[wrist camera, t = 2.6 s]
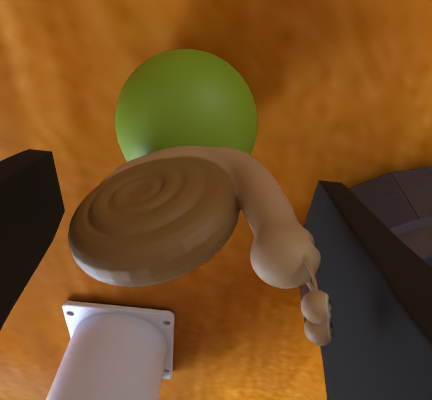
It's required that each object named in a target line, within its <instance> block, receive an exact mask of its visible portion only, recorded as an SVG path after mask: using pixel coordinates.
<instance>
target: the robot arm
mask: <svg viewBox="0 0 432 400" xmlns="http://www.w3.org/2000/svg"><path fill="white" fill-rule="evenodd" d="M64 212H65V209H64V205H63V200H62V196H61V191H60V187H59V182H58V177H57V173H56V168H55V164H54V159H53V155H52V152H50V151H41V150H32V149H28V150H26V151H23V152H20V153H18V154H15V155H13V156H11V157H9V158H6V159H4V160H2V161H0V330H1V328H2V326H3V324H4V322H5V321H6V319H7V317H8V315H9V313H10V311H11V310H12V308H13V306H14V305H15V303H16V301H17V300H18V298H19V296H20V295H21V293H22V291H23V290H24V288H25V286H26V285H27V283H28V281H29V280H30V278H31V276H32V275H33V273H34V272H35V270H36V268H37V267H38V265H39V263H40V262H41V260H42V258H43V256H44V255H45V253H46V251H47V250H48V248H49V246H50V244H51V243H52V241H53V239H54V236H55V234H56V232H57V229H58V227H59V224H60V222H61V219H62V217H63V214H64ZM303 228H305V229H306V230H307V231H308V232H309V233H310V234H311V235H312V236H313V239H314V246H315V247H316V248H317V250H318V251H319V252H320V256H321V261H320V265H319V268H318V270H317V272H316V273H315V278H316V282H317V287H318V290H320V291H323V292H325V293H327V294H328V296H329V298H330V300H331V303H332V314H331V317H330V320H331V322H332V324H333V338H332V341H331V342H330V343H329V344H327V345H325V346H320V347H321V353H322V359H323V367H324V375H325V384H326V393H327V400H432V267H431V266H430V265H429V264H427V263H426V262H425V261H424V260H423V259H422V258H420V257H419V256H418V255H417V254H416V253H415V252H414V251H412V250H411V249H410V248H409V247H408V246H407V245H406V244H404V243H403V242H402V241H401V240H400V239H399V238H398V237H397V236H396V235H395V234H394V233H393V232H392V231H390V230H389V229H388V228H387V227H386V226H385V225H384V224H383V223H382V222H381V221H380V220H379V219H378V218H377V217H376V216H375V215H374V214H373V213H372V212H371V211H370V210H369V209H368V208H367V207H366V206H365V205H364V204H363V203H362V202H361V201H360V200H359V199H358V198H357V197H356V196H355V195H354V194H353V193H352V192H351V191H350V190H349V189H348V188H347V187H346V186H344V185H343V184H342V183H339V182H329V181H320V180H319V181H318V184H317V188H316V191H315V194H314V197H313V200H312V203H311V206H310V209H309V212H308V215H307V218H306V221H305V224H304V227H303ZM311 283H312V285H313V282H312V278H311ZM307 288H308V292H310V289H309V286H308V285H307ZM62 308H63V312H64V315H65V319H66V322H67V326H68V330H69V333H70V337H71V340H70V342H69V345H68V347H67V350H66V352H65V355H64V357H63V359H62V362H61V364H60V367H59V369H58V372H57V374H56V376H55V379H54V381H53V384H52V386H51V389H50V391H49V393H48V396H47V398H46V400H158V399H159V394H160V388H161V382H162V379H170V378H172V373H173V345H174V313H173V312H171V311H166V310H156V309H146V308H137V307H127V306H117V305H107V304H97V303H87V302H77V301H66V302H64V304H63V306H62Z"/></svg>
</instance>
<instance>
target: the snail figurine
mask: <svg viewBox="0 0 432 400" xmlns="http://www.w3.org/2000/svg"><path fill="white" fill-rule="evenodd" d="M115 128H116V134H117V139H118V142H119V145H120V148H121V150H122V153H123V155H124V156H125V158H126V160H127V161H128V162H127V163H125V164H123V165H122V166H120V167H119V168H117V169H116V170H114V171H113V172H112V173H111V174H109V175H108V176H107V177H106V178H105V179H104V180H103V181H102V182H101V183H100V185H98V186H97V187H96V188H95V189H93V190H92V191H91V192H90V193H89V194H88V195H87V196H86V197H85V198H84V200H83V201H82V202H81V204H80V205H79V206H78V208H77V209H76V211H75V213H74V215H73V217H72V219H71V223H70V227H69V233H68V240H69V247H70V251H71V253H72V255H73V258H74V260H75V262H76V263H77V264H78V265H79V266H80V267H81V268H82V269H83V270H84V271H85V272H86V273H87V274H88V275H90V276H91V277H93V278H95V279H97V280H99V281H101V282H104V283H108V284H112V285H117V286H124V287H142V286H149V285H156V284H160V283H164V282H167V281H170V280H174V279H177V278H179V277H181V276H183V275H185V274H187V273H190V272H192V271H194V270H195V269H197V268H198V267H200V266H201V265H203V264H204V263H206V262H207V261H209V260H210V259H211V258H212V257H213V256H214V255H215V254H216V253H218V252H219V251H220V250H221V248H222V247H223V246H224V244H225V243H226V242H227V240H228V239H229V238H230V236H231V235H232V233H233V231H234V228H235V226H236V224H237V221H238V217H239V212H240V209H242V211H243V213H244V215H245V217H246V219H247V221H248V223H249V225H250V228H251V230H252V233H253V236H254V240H253V243H252V246H251V250H250V260H251V264H252V267H253V269H254V271H255V273H256V274H257V275H258V276H259V277H260V278H261V279H262V280H263V281H264V282H266V283H268V284H269V285H271V286H274V287H277V288H283V289H289V288H295V287H298V286H301V285H303V284H307V285H308V286H309V289H310V292H308V293H306V294H305V295H304V297H303V298H302V301H301V310H302V313H303V315H304V316H305V318H306V319H307V320H306V322H305V325H304V332H305V335H306V337H307V338H308V340H309V341H310V342H312V343H313V344H315V345H318V346H325V345H327V344H329V343H330V342H331V341H332V338H333V324H332V322H331V320H330V317H331V314H332V303H331V300H330V298H329V296H328V294H327V293H325V292H323V291H320V290H318V287H317V282H316V278H315V273H316V272H317V270H318V268H319V265H320V261H321V256H320V252H319V251H318V250H317V248H316V247H315V246H314V239H313V236H312V235H311V234H310V233H309V232H308V231H307V230H306V229H305V228H303V227H302V226H301V225H300V223H299V221H298V219H297V217H296V215H295V212H294V210H293V208H292V206H291V204H290V202H289V200H288V198H287V197H286V195H285V194H284V192H283V190H282V189H281V187H280V186H279V184H278V183H277V181H276V180H275V178H274V177H273V176H272V174H271V173H270V172H269V171H268V170H267V169H266V168H265V167H264V166H263V165H262V164H261V163H260V162H259V161H257V160H256V159H255V158H253V157H252V156H250V155H251V152H252V150H253V147H254V144H255V141H256V136H257V129H258V117H257V109H256V105H255V101H254V98H253V95H252V93H251V91H250V89H249V87H248V85H247V83H246V82H245V80H244V79H243V78H242V76H241V75H240V74H239V73H238V72H237V71H236V70H235V69H234V68H233V67H232V66H231V65H230V64H228V63H227V62H226V61H224V60H223V59H221V58H219V57H217V56H215V55H213V54H210V53H208V52H205V51H201V50H195V49H175V50H170V51H166V52H163V53H160V54H158V55H155V56H153V57H151V58H150V59H148V60H147V61H145V62H144V63H142V64H141V65H140V66H139V67H138V68H137V69H136V70H135V71H134V72H133V73H132V74H131V75H130V77H129V78H128V80H127V81H126V83H125V84H124V86H123V88H122V90H121V93H120V95H119V98H118V102H117V106H116V113H115ZM311 278H312V282H313V285H312V283H311Z"/></svg>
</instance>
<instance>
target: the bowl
mask: <svg viewBox="0 0 432 400" xmlns="http://www.w3.org/2000/svg"><path fill="white" fill-rule="evenodd" d="M349 190H350V191H351V192H352V193H353V194H354V195H355V196H356V197H357V198H358V199H359V200H360V201H361V202H362V203H363V204H364V205H365V206H366V207H367V208H368V209H369V210H370V211H371V212H372V213H373V214H374V215H375V216H376V217H377V218H378V219H379V220H380V221H381V222H382V223H383V224H384V225H385V226H386V227H387V228H388V229H389V230H390V231H392V232H393V233H394V234H395V235H396V236H397V237H398V238H399V239H400V240H401V241H402V242H403V243H404V244H406V245H407V246H408V247H409V248H410V249H411V250H412V251H414V252H415V253H416V254H417V255H418V256H419V257H420V258H422V259H423V260H424V261H425V262H426V263H427V264H429V265H430V266H431V267H432V167H425V168H418V169H412V170H405V171H398V172H392V173H388V174H386V175H383V176H380V177H378V178H375V179H373V180H370V181H368V182H365V183H363V184H360V185H358V186H355V187H353V188H351V189H349ZM299 292H300V298H301V301H302V298H303V297H304V295H305V294H306V293H308V288H307V284H303V285H301V286H299ZM303 316H304V315H303ZM306 320H307V319H306V318H305V316H304V322H306Z"/></svg>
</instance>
